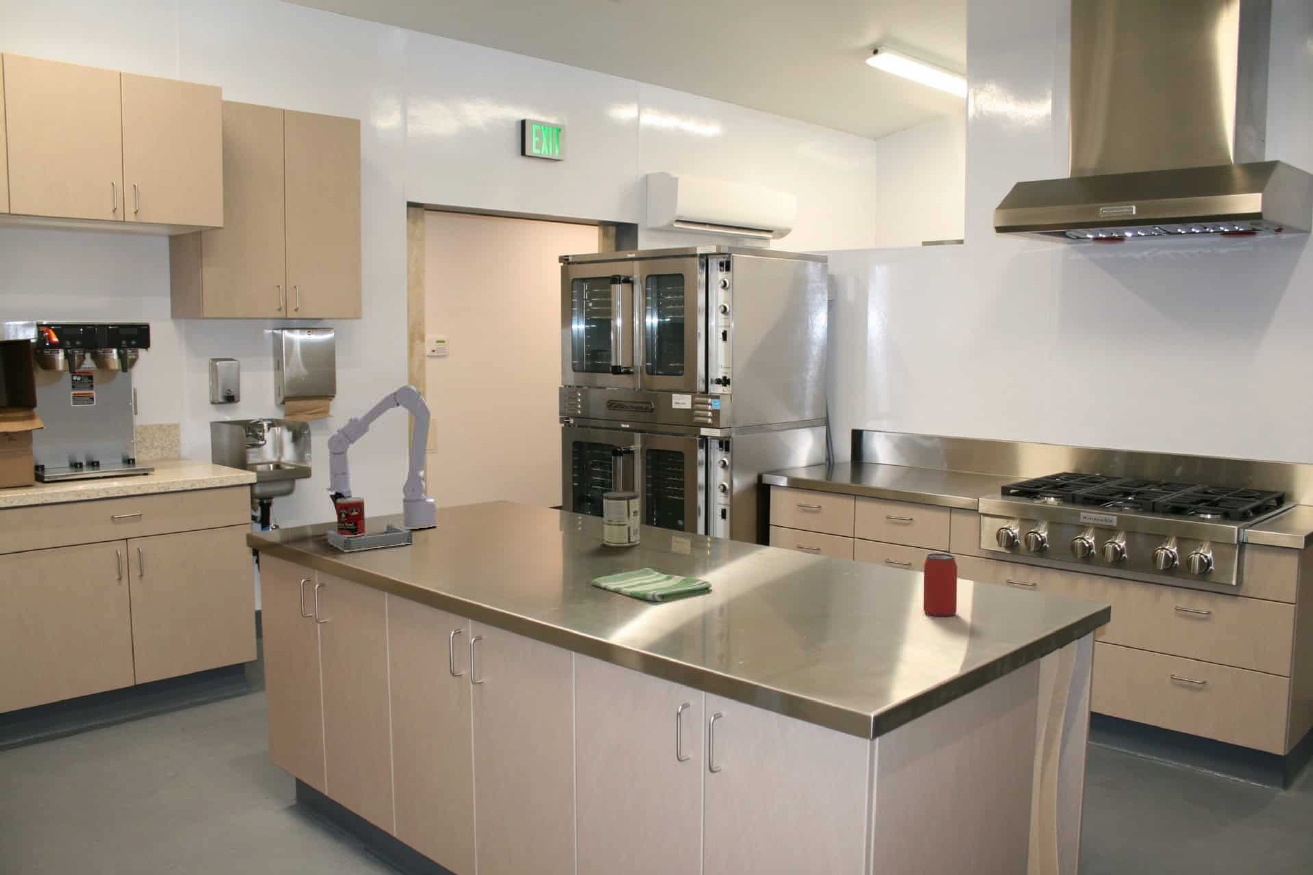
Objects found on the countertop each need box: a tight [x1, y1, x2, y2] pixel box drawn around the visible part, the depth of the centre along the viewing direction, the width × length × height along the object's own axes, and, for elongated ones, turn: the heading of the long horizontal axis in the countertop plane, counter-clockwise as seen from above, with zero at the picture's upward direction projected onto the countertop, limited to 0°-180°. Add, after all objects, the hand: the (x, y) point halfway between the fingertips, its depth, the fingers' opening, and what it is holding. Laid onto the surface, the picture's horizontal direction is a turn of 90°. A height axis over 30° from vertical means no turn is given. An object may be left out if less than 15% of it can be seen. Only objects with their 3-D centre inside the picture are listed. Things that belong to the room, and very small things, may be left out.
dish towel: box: [590, 566, 713, 603], centre depth 233 cm, size 18×23×3 cm
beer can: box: [923, 552, 958, 618], centre depth 208 cm, size 7×7×12 cm
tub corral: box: [326, 523, 413, 550], centre depth 288 cm, size 19×16×4 cm
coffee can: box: [602, 490, 641, 547], centre depth 285 cm, size 10×10×14 cm
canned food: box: [336, 496, 366, 535], centre depth 301 cm, size 8×8×11 cm
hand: (341, 517), depth 309 cm, fingers closed
